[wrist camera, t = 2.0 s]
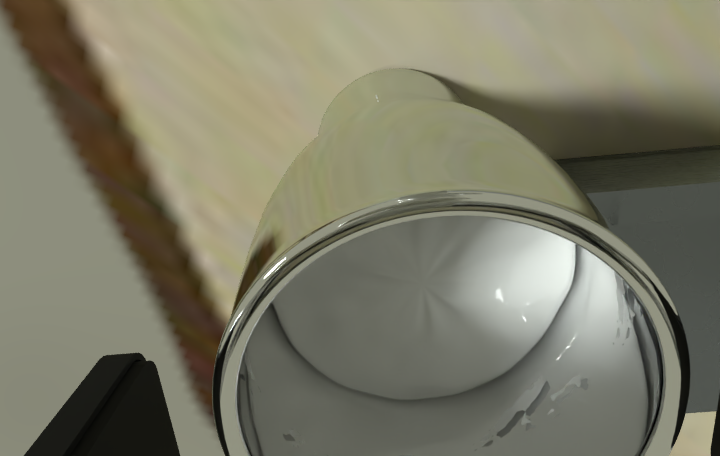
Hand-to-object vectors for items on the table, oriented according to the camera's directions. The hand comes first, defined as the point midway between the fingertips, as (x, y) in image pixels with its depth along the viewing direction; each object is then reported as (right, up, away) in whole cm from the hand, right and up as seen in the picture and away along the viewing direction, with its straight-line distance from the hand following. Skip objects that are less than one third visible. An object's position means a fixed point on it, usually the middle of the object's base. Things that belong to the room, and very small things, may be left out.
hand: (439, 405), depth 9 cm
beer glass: (0, +6, +13) cm, 14 cm away
